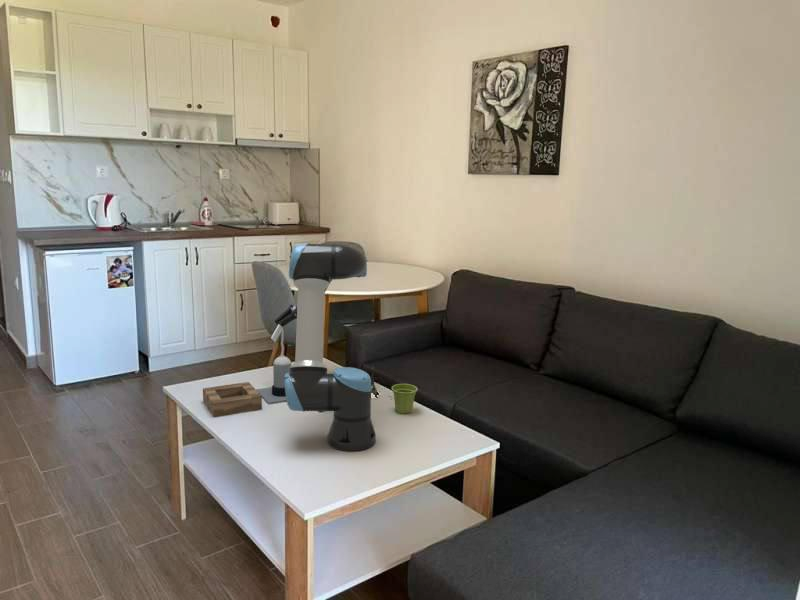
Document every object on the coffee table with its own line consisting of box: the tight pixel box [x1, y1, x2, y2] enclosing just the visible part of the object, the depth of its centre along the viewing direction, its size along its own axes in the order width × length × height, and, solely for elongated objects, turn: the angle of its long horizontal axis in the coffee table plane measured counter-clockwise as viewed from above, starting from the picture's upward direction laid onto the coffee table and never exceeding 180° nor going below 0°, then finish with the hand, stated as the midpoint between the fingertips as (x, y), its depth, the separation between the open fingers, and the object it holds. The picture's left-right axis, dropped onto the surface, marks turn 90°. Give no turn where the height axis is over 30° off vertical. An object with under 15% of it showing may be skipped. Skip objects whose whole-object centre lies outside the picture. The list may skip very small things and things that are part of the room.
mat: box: [255, 386, 287, 405], centre depth 226 cm, size 16×16×1 cm
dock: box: [202, 381, 263, 418], centre depth 213 cm, size 17×17×5 cm
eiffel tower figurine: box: [370, 366, 393, 399], centre depth 225 cm, size 15×10×13 cm
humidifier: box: [271, 329, 292, 397], centre depth 223 cm, size 8×8×25 cm
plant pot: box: [391, 383, 418, 414], centre depth 212 cm, size 9×9×9 cm
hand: (286, 342), depth 225 cm, fingers open, 13 cm apart
